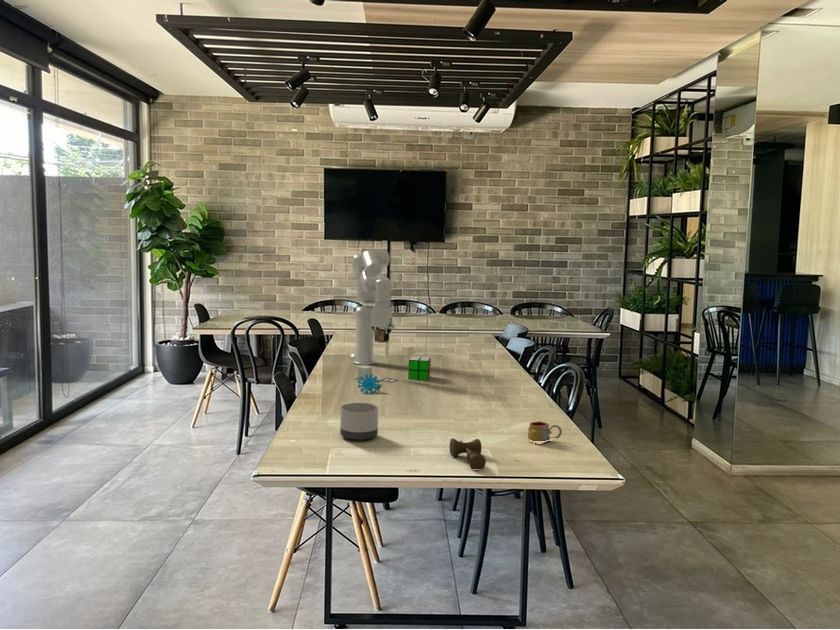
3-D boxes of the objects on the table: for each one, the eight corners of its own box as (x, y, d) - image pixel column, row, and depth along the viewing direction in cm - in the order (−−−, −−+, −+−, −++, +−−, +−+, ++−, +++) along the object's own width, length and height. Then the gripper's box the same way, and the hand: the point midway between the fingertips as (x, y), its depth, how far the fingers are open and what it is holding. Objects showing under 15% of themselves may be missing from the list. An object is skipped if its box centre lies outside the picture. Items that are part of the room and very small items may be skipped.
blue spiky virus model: (354, 389, 282) (361, 371, 288) (355, 396, 286) (361, 378, 293) (378, 394, 280) (384, 375, 287) (379, 401, 285) (385, 382, 291)
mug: (530, 445, 218) (531, 426, 217) (525, 438, 224) (526, 420, 223) (564, 445, 219) (565, 426, 218) (558, 438, 226) (559, 420, 225)
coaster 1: (353, 379, 309) (353, 379, 309) (363, 377, 316) (363, 376, 316) (366, 382, 305) (366, 381, 305) (376, 379, 312) (376, 378, 312)
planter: (381, 441, 216) (382, 411, 214) (343, 443, 212) (344, 413, 211) (373, 430, 228) (373, 402, 227) (337, 432, 224) (337, 403, 223)
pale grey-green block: (357, 379, 310) (357, 366, 309) (363, 377, 314) (363, 365, 313) (365, 380, 307) (366, 368, 306) (371, 378, 311) (372, 366, 311)
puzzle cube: (430, 376, 322) (430, 357, 321) (428, 381, 312) (429, 360, 311) (410, 375, 323) (411, 356, 322) (408, 379, 313) (408, 359, 312)
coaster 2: (377, 381, 308) (377, 380, 308) (387, 378, 315) (387, 377, 314) (391, 383, 304) (391, 382, 304) (400, 380, 310) (400, 380, 310)
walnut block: (374, 341, 314) (374, 329, 313) (380, 340, 318) (380, 328, 317) (382, 342, 311) (383, 330, 310) (388, 341, 315) (388, 329, 315)
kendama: (462, 473, 190) (445, 449, 209) (492, 472, 192) (473, 449, 212) (463, 454, 189) (446, 432, 209) (494, 453, 191) (474, 432, 211)
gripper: (364, 303, 313) (362, 339, 316) (393, 306, 305) (391, 344, 307) (372, 301, 320) (371, 337, 322) (401, 305, 311) (400, 341, 314)
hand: (381, 340), depth 315 cm, fingers closed on walnut block, 5 cm apart
